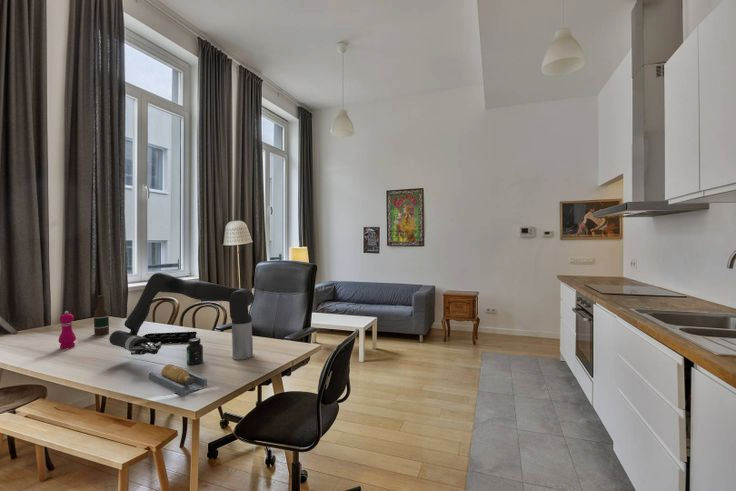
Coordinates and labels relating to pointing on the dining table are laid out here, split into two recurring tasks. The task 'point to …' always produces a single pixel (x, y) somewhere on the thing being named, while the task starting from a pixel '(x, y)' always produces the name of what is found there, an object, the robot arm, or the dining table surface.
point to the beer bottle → (101, 318)
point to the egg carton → (170, 337)
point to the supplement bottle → (194, 352)
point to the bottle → (177, 374)
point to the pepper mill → (67, 331)
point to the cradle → (180, 388)
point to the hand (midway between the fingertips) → (155, 351)
